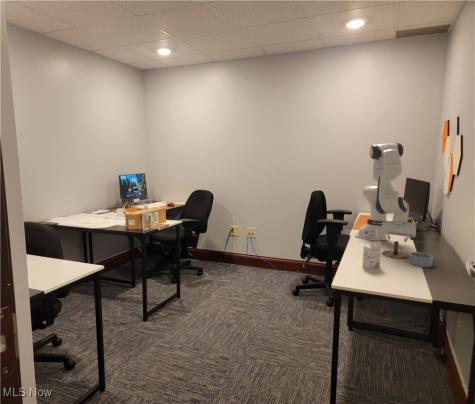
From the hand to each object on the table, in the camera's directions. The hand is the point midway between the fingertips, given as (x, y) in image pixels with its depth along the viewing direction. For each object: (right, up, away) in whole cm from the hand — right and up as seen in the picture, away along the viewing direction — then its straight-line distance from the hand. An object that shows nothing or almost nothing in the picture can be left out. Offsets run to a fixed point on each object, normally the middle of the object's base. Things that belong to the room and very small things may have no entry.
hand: (397, 240), depth 214 cm
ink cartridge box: (-26, -12, -24) cm, 37 cm away
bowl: (+6, -12, -17) cm, 21 cm away
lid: (-2, -10, -1) cm, 10 cm away
